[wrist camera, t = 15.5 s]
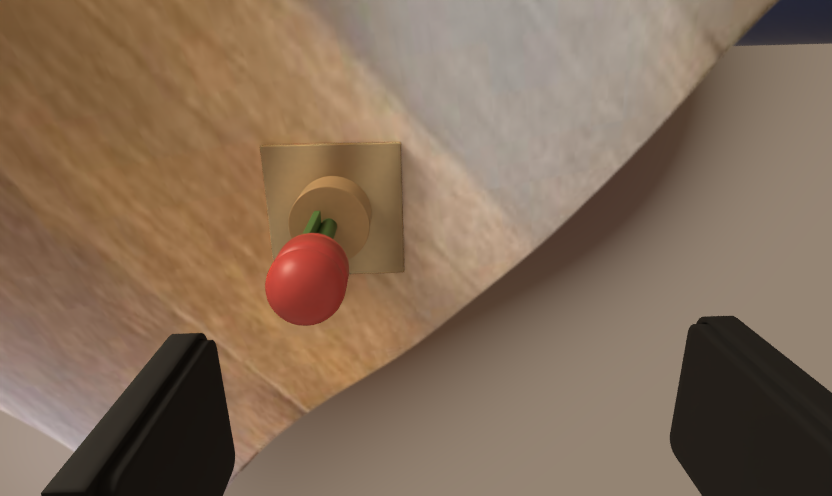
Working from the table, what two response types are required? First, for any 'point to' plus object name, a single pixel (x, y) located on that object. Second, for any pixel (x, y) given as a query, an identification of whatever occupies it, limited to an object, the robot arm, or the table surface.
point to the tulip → (318, 250)
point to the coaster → (354, 161)
